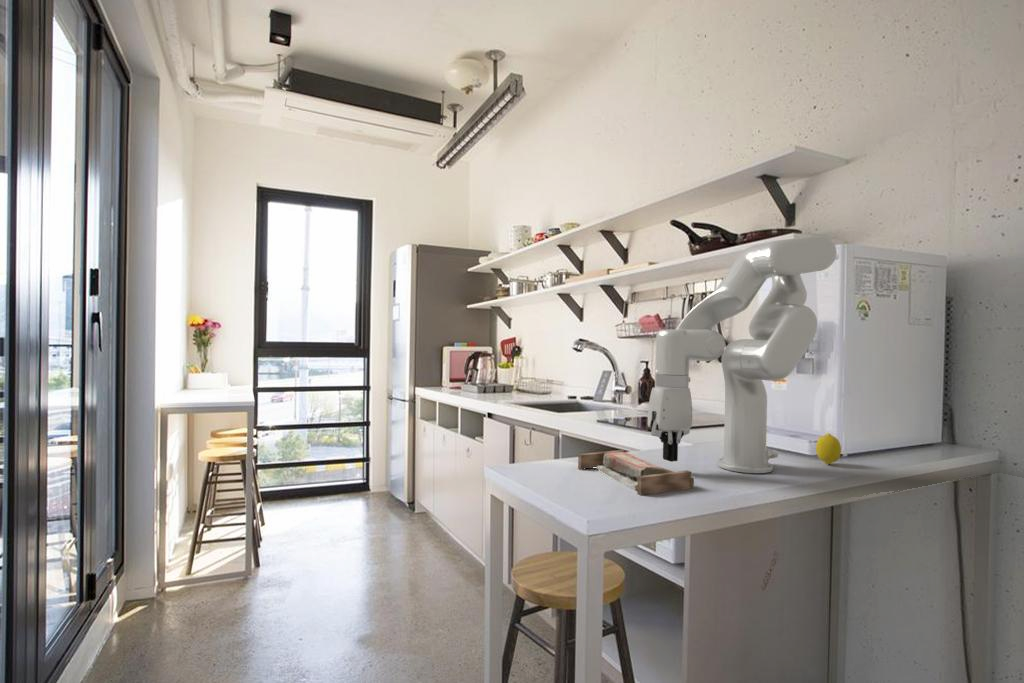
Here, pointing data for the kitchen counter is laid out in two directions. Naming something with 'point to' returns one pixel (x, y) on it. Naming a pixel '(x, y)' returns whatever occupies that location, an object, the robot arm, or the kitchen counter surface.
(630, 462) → the packaged product
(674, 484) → the wooden rolling pin rack
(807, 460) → the kitchen counter surface
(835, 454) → the lemon
